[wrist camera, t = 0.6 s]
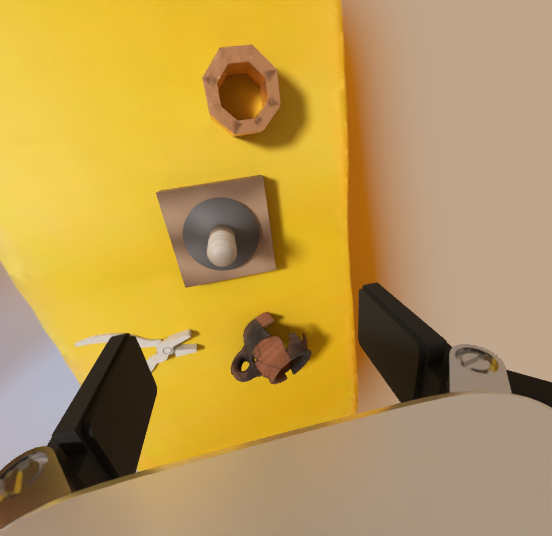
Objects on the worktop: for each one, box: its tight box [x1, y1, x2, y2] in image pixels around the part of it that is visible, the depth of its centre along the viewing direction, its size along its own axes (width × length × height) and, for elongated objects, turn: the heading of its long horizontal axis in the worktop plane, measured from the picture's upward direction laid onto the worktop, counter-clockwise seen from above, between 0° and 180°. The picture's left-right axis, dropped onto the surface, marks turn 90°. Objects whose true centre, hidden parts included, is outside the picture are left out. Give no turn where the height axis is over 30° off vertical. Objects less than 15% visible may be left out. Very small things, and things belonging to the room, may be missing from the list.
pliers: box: [75, 329, 197, 371], centre depth 39 cm, size 10×2×15 cm
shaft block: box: [156, 175, 276, 288], centre depth 30 cm, size 12×12×10 cm
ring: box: [203, 45, 281, 137], centre depth 27 cm, size 7×7×4 cm
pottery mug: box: [231, 312, 311, 384], centre depth 40 cm, size 12×10×8 cm
